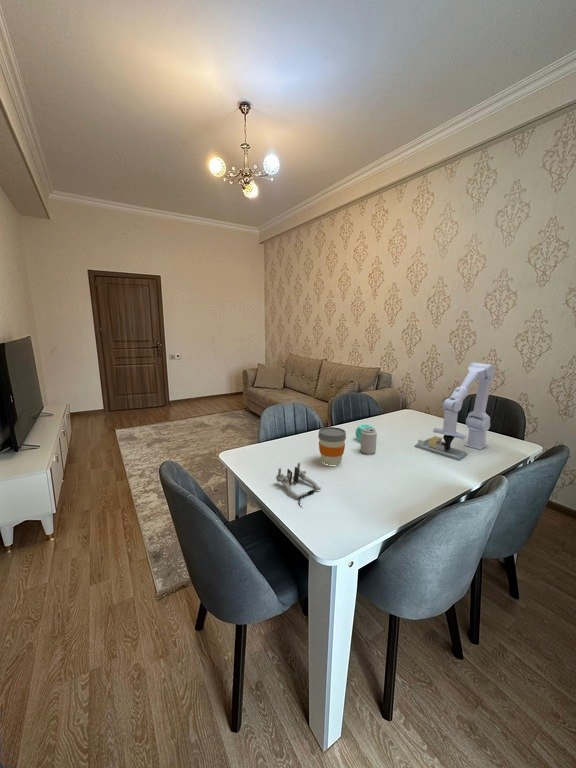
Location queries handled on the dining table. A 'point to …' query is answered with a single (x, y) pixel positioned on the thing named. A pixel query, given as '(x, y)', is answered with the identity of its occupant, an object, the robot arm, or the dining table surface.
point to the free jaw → (441, 446)
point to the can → (368, 440)
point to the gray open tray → (451, 453)
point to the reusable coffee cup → (331, 445)
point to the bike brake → (287, 481)
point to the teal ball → (360, 428)
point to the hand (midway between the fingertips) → (447, 449)
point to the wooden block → (434, 441)
